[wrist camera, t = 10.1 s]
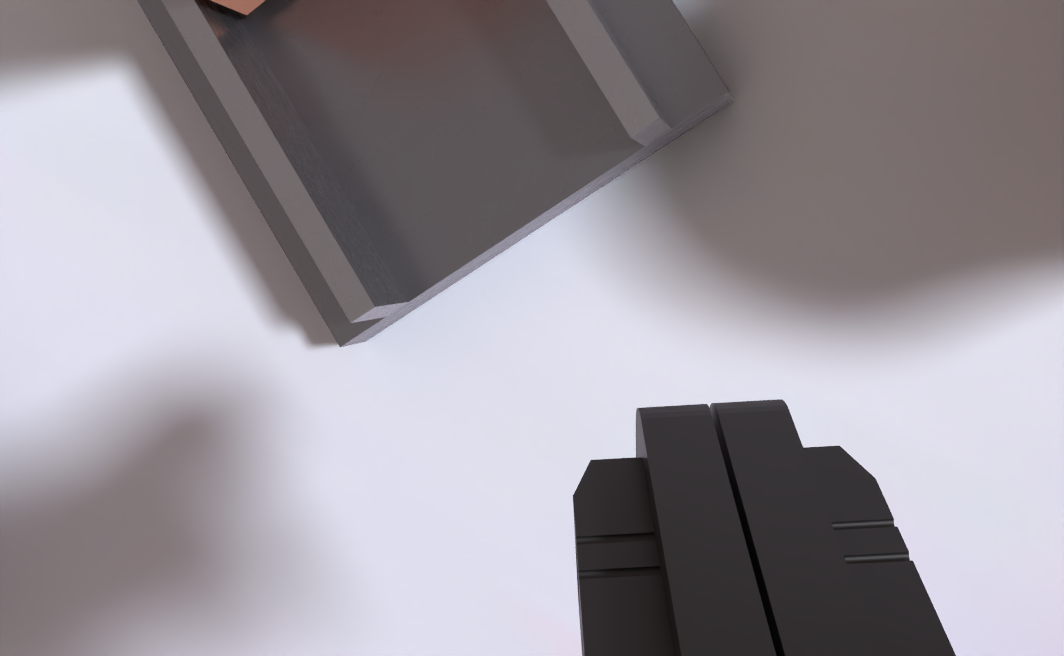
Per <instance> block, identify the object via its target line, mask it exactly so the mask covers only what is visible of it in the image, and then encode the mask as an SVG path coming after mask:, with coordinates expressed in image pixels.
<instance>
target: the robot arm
mask: <svg viewBox="0 0 1064 656" xmlns="http://www.w3.org/2000/svg"><path fill="white" fill-rule="evenodd" d="M573 505H574V524H575V543H576V563H577V582H578V601H579V615H580V630H581V643H582V656H956V655H955V653H954V651H953V648H952V646H951V644H950V642H949V640H948V637H947V635H946V633H945V631H944V629H943V626H942V624H941V622H940V620H939V618H938V615H937V613H936V611H935V609H934V607H933V604H932V602H931V600H930V598H929V596H928V593H927V591H926V589H925V587H924V584H923V582H922V580H921V578H920V576H919V573H918V571H917V569H916V567H915V565H914V562H913V561H910V559H909V551H908V549H907V547H906V545H905V543H904V540H903V538H902V536H901V534H900V532H899V529H898V527H895V526H894V518H893V516H892V514H891V512H890V509H889V507H888V505H887V503H886V501H885V498H884V496H883V494H882V492H881V490H880V487H879V485H878V483H877V481H876V479H875V478H874V477H873V476H872V475H871V474H870V473H869V472H868V471H867V470H865V469H864V468H863V467H862V466H861V465H860V464H859V463H858V462H857V461H856V460H854V459H853V458H852V457H851V456H850V455H849V454H848V453H847V452H846V451H845V450H844V449H842V448H841V447H840V446H826V447H809V448H803V446H802V444H801V441H800V438H799V436H798V433H797V430H796V428H795V425H794V422H793V420H792V417H791V414H790V412H789V409H788V407H787V405H786V403H785V402H784V401H783V400H763V401H746V402H728V403H712V404H711V405H710V408H709V406H708V405H707V404H699V405H681V406H664V407H647V408H637V411H636V458H620V459H602V460H591V461H590V463H589V465H588V467H587V469H586V471H585V473H584V475H583V477H582V479H581V481H580V483H579V485H578V487H577V489H576V491H575V493H574V495H573Z"/></svg>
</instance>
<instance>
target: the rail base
mask: <svg viewBox="0 0 1064 656" xmlns="http://www.w3.org/2000/svg"><path fill="white" fill-rule="evenodd" d="M138 2H139V4H140V5H141V7H142V9H143V11H144V12H145V14H146V16H147V17H148V19H149V21H150V22H151V24H152V26H153V28H154V29H155V31H156V33H157V34H158V36H159V38H160V40H161V41H162V43H163V45H164V46H165V48H166V50H167V52H168V53H169V55H170V57H171V58H172V60H173V62H174V64H175V65H176V67H177V69H178V70H179V72H180V74H181V76H182V77H183V79H184V81H185V82H186V84H187V86H188V88H189V89H190V91H191V93H192V94H193V96H194V98H195V100H196V101H197V103H198V105H199V106H200V108H201V110H202V112H203V113H204V115H205V117H206V118H207V120H208V122H209V124H210V125H211V127H212V129H213V130H214V132H215V134H216V135H217V137H218V139H219V141H220V142H221V144H222V146H223V147H224V149H225V151H226V153H227V154H228V156H229V158H230V159H231V161H232V163H233V165H234V166H235V168H236V170H237V171H238V173H239V175H240V177H241V178H242V180H243V182H244V183H245V185H246V187H247V189H248V190H249V192H250V194H251V195H252V197H253V199H254V201H255V202H256V204H257V206H258V207H259V209H260V211H261V213H262V214H263V216H264V218H265V219H266V221H267V223H268V225H269V226H270V228H271V230H272V231H273V233H274V235H275V236H276V238H277V240H278V242H279V243H280V245H281V247H282V248H283V250H284V252H285V254H286V255H287V257H288V259H289V260H290V262H291V264H292V266H293V267H294V269H295V271H296V272H297V274H298V276H299V278H300V279H301V281H302V283H303V284H304V286H305V288H306V290H307V291H308V293H309V295H310V296H311V298H312V300H313V302H314V303H315V305H316V307H317V308H318V310H319V312H320V314H321V315H322V317H323V319H324V320H325V322H326V324H327V326H328V327H329V329H330V331H331V332H332V334H333V336H334V338H335V339H336V341H337V343H338V344H339V346H340V347H343V346H348V345H352V344H357V343H361V342H365V341H367V340H369V339H370V338H372V337H373V336H375V335H376V334H378V333H379V332H381V331H382V330H384V329H385V328H387V327H388V326H390V325H391V324H393V323H395V322H396V321H398V320H399V319H401V318H402V317H404V316H405V315H407V314H408V313H410V312H411V311H413V310H414V309H416V308H417V307H419V306H421V305H422V304H424V303H425V302H427V301H428V300H430V299H431V298H433V297H434V296H436V295H437V294H439V293H440V292H442V291H443V290H445V289H446V288H448V287H450V286H451V285H453V284H454V283H456V282H457V281H459V280H460V279H462V278H463V277H465V276H466V275H468V274H469V273H471V272H472V271H474V270H476V269H477V268H479V267H480V266H482V265H483V264H485V263H486V262H488V261H489V260H491V259H492V258H494V257H495V256H497V255H498V254H500V253H501V252H503V251H505V250H506V249H508V248H509V247H511V246H512V245H514V244H515V243H517V242H518V241H520V240H521V239H523V238H524V237H526V236H527V235H529V234H530V233H532V232H534V231H535V230H537V229H538V228H540V227H541V226H543V225H544V224H546V223H547V222H549V221H550V220H552V219H553V218H555V217H556V216H558V215H560V214H561V213H563V212H564V211H566V210H567V209H569V208H570V207H572V206H573V205H575V204H576V203H578V202H579V201H581V200H582V199H584V198H585V197H587V196H589V195H590V194H592V193H593V192H595V191H596V190H598V189H599V188H601V187H602V186H604V185H605V184H607V183H608V182H610V181H611V180H613V179H615V178H616V177H618V176H619V175H621V174H622V173H624V172H625V171H627V170H628V169H630V168H631V167H633V166H634V165H636V164H637V163H639V162H640V161H642V160H644V159H645V158H647V157H648V156H650V155H651V154H653V153H654V152H656V151H657V150H659V149H660V148H662V147H663V146H665V145H666V144H668V143H670V142H671V141H673V140H674V139H676V138H677V137H679V136H680V135H682V134H683V133H685V132H686V131H688V130H689V129H691V128H692V127H694V126H695V125H697V124H699V123H700V122H702V121H703V120H705V119H706V118H708V117H709V116H711V115H712V114H714V113H715V112H717V111H718V110H720V109H721V108H723V107H725V106H726V105H728V104H729V103H731V102H732V101H733V99H732V97H731V95H730V93H729V91H728V89H727V88H726V86H725V84H724V83H723V81H722V80H721V78H720V76H719V75H718V73H717V72H716V70H715V68H714V67H713V65H712V64H711V62H710V60H709V59H708V57H707V56H706V54H705V52H704V51H703V49H702V48H701V46H700V44H699V43H698V41H697V40H696V38H695V36H694V35H693V33H692V32H691V30H690V28H689V27H688V25H687V24H686V22H685V20H684V19H683V17H682V16H681V14H680V12H679V11H678V9H677V8H676V6H675V4H674V3H673V1H672V0H265V1H264V2H263V3H262V4H260V5H259V6H258V7H257V8H255V9H254V10H253V11H252V12H250V13H249V14H248V15H245V14H242V13H240V12H238V11H235V10H233V9H230V8H228V7H225V6H223V5H221V4H218V3H216V2H213V1H211V0H138Z"/></svg>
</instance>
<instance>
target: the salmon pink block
mask: <svg viewBox="0 0 1064 656" xmlns="http://www.w3.org/2000/svg"><path fill="white" fill-rule="evenodd" d="M211 1H213V2H216V3H218V4H221V5H223V6H225V7H228V8H230V9H233V10H235V11H238V12H240V13H242V14H245V15H248V14H249V13H250V12H252V11H253V10H254V9H255V8H257V7H258V6H259V5H260V4H262V3H263V2H264V1H265V0H211Z"/></svg>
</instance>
